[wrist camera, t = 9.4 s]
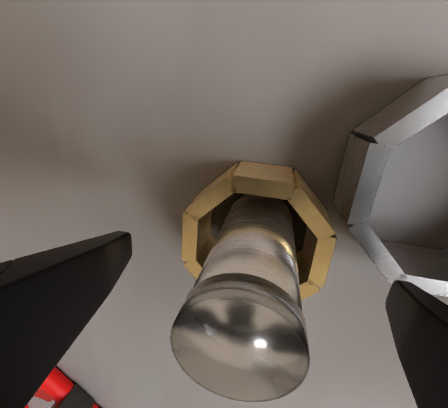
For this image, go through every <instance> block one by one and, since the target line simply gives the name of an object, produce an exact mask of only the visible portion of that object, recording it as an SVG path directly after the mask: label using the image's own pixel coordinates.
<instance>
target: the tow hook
mask: <svg viewBox="0 0 448 408" xmlns="http://www.w3.org/2000/svg"><path fill="white" fill-rule="evenodd" d="M34 396H36V397H39V398H41V399H43V400H45V401H52V400H54V401H55V403H54V405H53V406H52V407H51V408H99V407H98V406H97V405H96V404H95V403H94V400H93V399H92V398H91V397H90V396H89V395H88V394H87V393H86V392H85V391H84V390H83V389H82V388H81V387H79V386H78V385H77V384H76V383H72V382H71V381H70V380H69V379H68V378H67V377H66V376H65V375H64V374H63V373H62V372H61V371H60V370H58V369H57V368H56V367H54V369H53V370H52V372H51V373H50V374H49V376H48V377H47V378H46V380H45V381H44V382H43V384H42V385H41V386H40V388H39V389H38V390H37V392H36V393H35V394H34ZM25 408H29V407H28V406H27V405H26V406H25Z"/></svg>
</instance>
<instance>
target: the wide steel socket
mask: <svg viewBox="0 0 448 408" xmlns="http://www.w3.org/2000/svg"><path fill="white" fill-rule="evenodd" d="M447 113H448V74H444V75H439V76H433V77H431V78H426V79H424V80H423V81H421V82H420V83H418V84H417V85H415V86H414V87H413V88H411V89H410V90H408V91H407V92H406V93H404V94H403V95H401V96H400V97H398V98H397V99H396V100H394V101H393V102H391V103H390V104H389V105H387V106H386V107H384V108H383V109H381V110H380V111H379V112H377V113H376V114H374V115H373V116H372V117H370V118H369V119H367V120H366V121H364V122H363V123H362V124H360V125H359V126H357V127H356V128H355V129H353V131H354V132H355V134H356V135H353V134H350V135H349V139H348V143H347V147H346V151H345V155H344V159H343V163H342V167H341V171H340V175H339V179H338V183H337V187H336V191H335V195H334V201H335V203H334V204H335V206H336V208H337V209H338V211H339V213H340V215H341V217H342V219H343V220H344V222H345V224H346V226H347V228H348V229H349V231H350V232H351V233H352V235H353V236H354V237H355V239H356V240H357V241H358V243H359V244H360V245H361V247H362V248H363V249H364V250H365V252H366V253H367V254H368V256H369V257H370V258H371V260H372V261H373V262H374V264H375V265H376V266H377V268H378V269H379V270H380V272H381V273H382V274H383V276H384V277H385V278H386V280H387V281H388V282H389V284H390V285H392V284H393V282H394V281H395V280H402V281H408V282H411V283H413V284H414V285H416V286H418V287H419V288H421V289H422V290H424V291H426V292H427V293H429V294H433V295H439V296H444V297H448V247H446V248H444V249H442V250H440V249H433V248H427V247H421V246H414V245H408V244H401V243H395V242H389V241H382V240H380V239H379V238H378V237H377V235H376V234H375V232H374V231H373V230H372V228H371V227H370V226H369V224H368V223H367V222H368V218H369V215H370V212H371V209H372V206H373V202H374V199H375V196H376V193H377V190H378V186H379V183H380V180H381V177H382V174H383V170H384V167H385V164H386V161H387V158H388V154H389V151H390V150H391V149H393V148H394V147H396V146H397V145H399V144H400V143H402V142H403V141H405V140H407V139H408V138H410V137H411V136H413V135H414V134H416V133H418V132H419V131H421V130H422V129H424V128H425V127H427V126H428V125H430V124H432V123H433V122H435V121H436V120H438V119H439V118H441V117H443V116H444V115H446V114H447Z"/></svg>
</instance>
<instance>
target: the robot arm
mask: <svg viewBox="0 0 448 408" xmlns="http://www.w3.org/2000/svg"><path fill="white" fill-rule="evenodd" d="M131 256H132V240H131V234H130V233H129V232H124V231H116V232H113V233H109V234H105V235H102V236H98V237H94V238H91V239H87V240H83V241H80V242H76V243H72V244H69V245H65V246H61V247H58V248H54V249H50V250H47V251H43V252H39V253H35V254H32V255H28V256H24V257H21V258H17V259H14V261H13V260H10V261H6V262H2V263H0V408H25V406H26V405H27V404H28V402H29V401H30V400H31V398H32V397H33V396H34V394H35V393H36V392H37V390H38V389H39V388H40V386H41V385H42V384H43V382H44V381H45V380H46V378H47V377H48V376H49V374H50V373H51V372H52V370H53V369H54V367H55V366H56V365H57V363H58V362H59V361H60V359H61V358H62V357H63V355H64V354H65V353H66V351H67V350H68V349H69V347H70V346H71V345H72V343H73V342H74V341H75V339H76V338H77V337H78V335H79V334H80V333H81V331H82V330H83V329H84V327H85V326H86V325H87V323H88V322H89V321H90V319H91V318H92V317H93V315H94V314H95V312H96V311H97V310H98V308H99V307H100V306H101V304H102V303H103V302H104V300H105V299H106V298H107V296H108V295H109V293H110V292H111V291H112V289H113V287H114V286H115V284H116V282H117V281H118V279H119V277H120V276H121V274H122V272H123V271H124V269H125V267H126V265H127V264H128V262H129V260H130V259H131ZM386 311H387V315H388V318H389V322H390V326H391V330H392V334H393V338H394V342H395V346H396V349H397V353H398V356H399V359H400V361H401V364H402V367H403V369H404V372H405V375H406V377H407V380H408V383H409V385H410V388H411V391H412V393H413V396H414V399H415V401H416V404H417V407H418V408H448V305H446V304H445V303H443V302H441V301H440V300H438V299H437V298H435V297H433V296H432V295H430V294H429V293H427V292H426V291H424V290H422V289H421V288H419V287H418V286H416V285H414V284H413V283H411V282H408V281H402V280H395V281H394V282H393V284H392V286H391V288H390V291H389V294H388V296H387V299H386Z"/></svg>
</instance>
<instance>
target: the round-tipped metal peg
mask: <svg viewBox="0 0 448 408" xmlns="http://www.w3.org/2000/svg"><path fill="white" fill-rule="evenodd" d="M170 339H171V347H172V351H173V353H174V356H175V358H176V360H177V362H178V364H179V365H180V366H181V368H182V369H183V370H184V371H185V373H186V374H187V375H188V376H189V377H190V378H191V379H193V380H194V381H195V382H196V383H198V384H199V385H200V386H202V387H204V388H205V389H207V390H209V391H211V392H213V393H215V394H217V395H220V396H222V397H226V398H229V399H233V400H237V401H244V402H264V401H271V400H274V399H278V398H281V397H283V396H286V395H287V394H289V393H291V392H292V391H294V390H295V389H296V388H297V387H298V386H299V385H300V384H301V383H302V382H303V380H304V379H305V377H306V375H307V372H308V369H309V364H310V358H309V348H308V339H307V331H306V324H305V319H304V316H303V313H302V305H301V296H300V286H299V277H298V268H297V258H296V249H295V240H294V230H293V221H292V215H291V212H290V210H289V208H288V207H287V205H286V204H285V203H284V202H283V201H282V200H281V199H278V198H271V197H264V196H257V195H250V194H246V195H244V196H242V197H240V198H239V199H237V200H236V201H235V202H234V203H233V205H232V206H231V208H230V210H229V212H228V214H227V217H226V219H225V221H224V223H223V225H222V227H221V229H220V231H219V234H218V236H217V238H216V240H215V242H214V244H213V246H212V248H211V250H210V253H209V255H208V257H207V259H206V261H205V263H204V265H203V267H202V270H201V272H200V274H199V276H198V278H197V280H196V282H195V284H194V286H193V288H192V289H191V291H190V292H189V293H188V295H187V297H186V299H185V301H184V303H183V305H182V307H181V309H180V311H179V313H178V315H177V317H176V319H175V322H174V324H173V326H172V330H171V337H170Z"/></svg>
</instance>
